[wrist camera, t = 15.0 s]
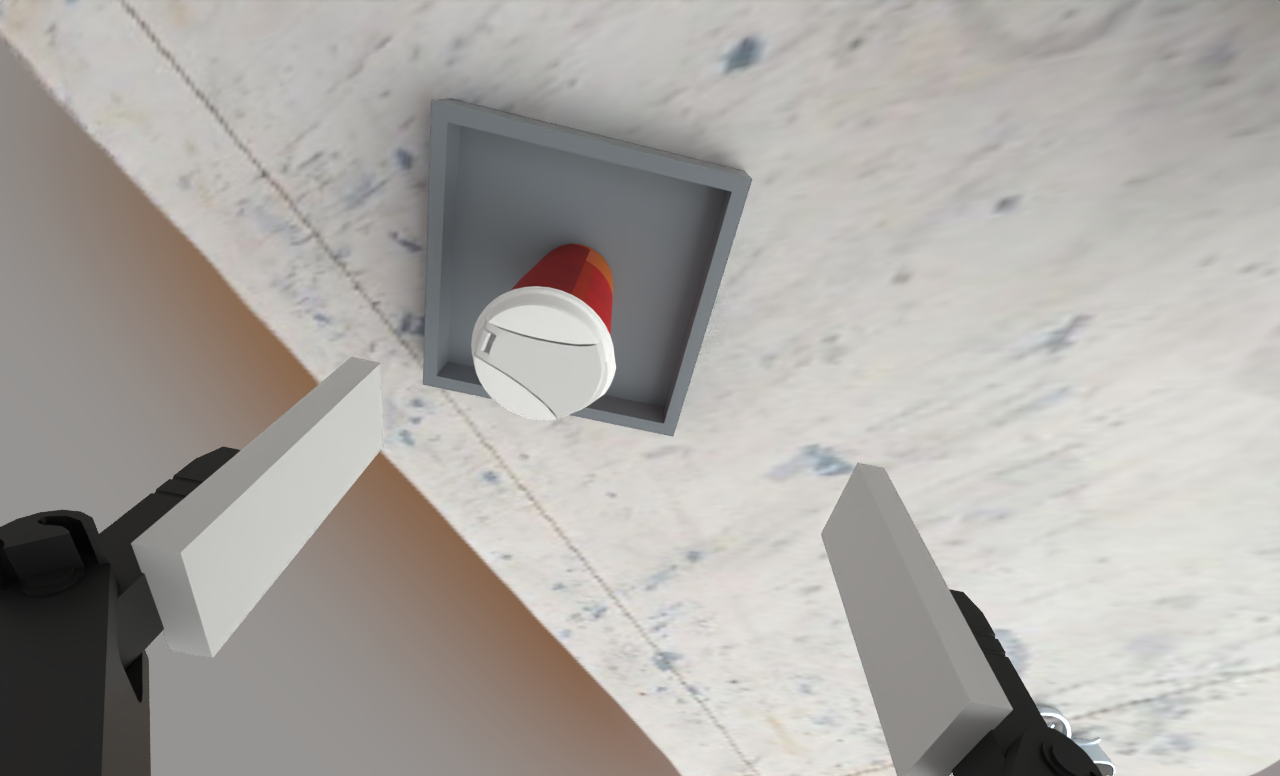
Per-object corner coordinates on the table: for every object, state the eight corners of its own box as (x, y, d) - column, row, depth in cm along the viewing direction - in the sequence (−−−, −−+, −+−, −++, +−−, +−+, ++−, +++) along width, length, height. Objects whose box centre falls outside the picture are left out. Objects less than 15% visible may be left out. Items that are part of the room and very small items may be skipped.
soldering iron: (1099, 764, 72) (981, 802, 75) (1050, 625, 63) (917, 674, 66) (1137, 813, 67) (1008, 852, 70) (1089, 668, 57) (942, 720, 60)
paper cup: (509, 301, 41) (444, 392, 29) (547, 208, 38) (492, 267, 26) (602, 345, 43) (578, 450, 31) (647, 260, 39) (641, 339, 27)
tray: (744, 171, 37) (752, 179, 34) (672, 413, 47) (673, 436, 44) (451, 98, 36) (431, 100, 33) (439, 364, 45) (423, 384, 42)
